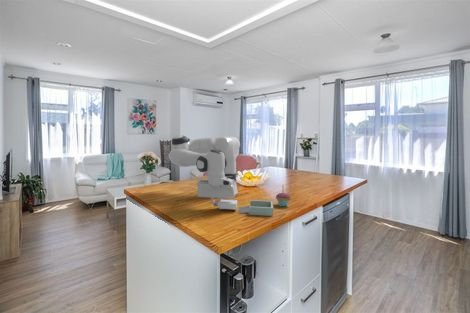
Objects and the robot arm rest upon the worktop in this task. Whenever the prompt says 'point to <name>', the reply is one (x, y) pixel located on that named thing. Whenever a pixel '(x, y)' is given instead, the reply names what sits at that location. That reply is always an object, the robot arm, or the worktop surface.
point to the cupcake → (283, 198)
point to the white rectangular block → (228, 204)
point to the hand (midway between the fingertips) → (215, 205)
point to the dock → (258, 208)
